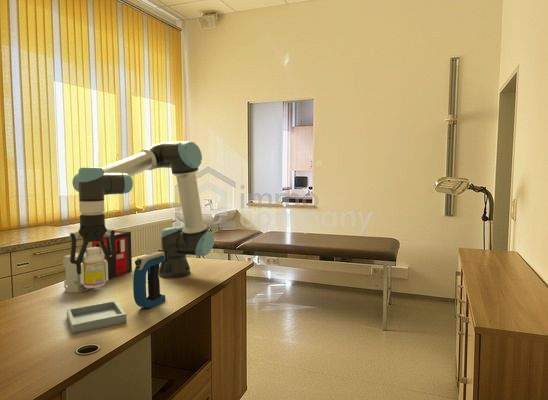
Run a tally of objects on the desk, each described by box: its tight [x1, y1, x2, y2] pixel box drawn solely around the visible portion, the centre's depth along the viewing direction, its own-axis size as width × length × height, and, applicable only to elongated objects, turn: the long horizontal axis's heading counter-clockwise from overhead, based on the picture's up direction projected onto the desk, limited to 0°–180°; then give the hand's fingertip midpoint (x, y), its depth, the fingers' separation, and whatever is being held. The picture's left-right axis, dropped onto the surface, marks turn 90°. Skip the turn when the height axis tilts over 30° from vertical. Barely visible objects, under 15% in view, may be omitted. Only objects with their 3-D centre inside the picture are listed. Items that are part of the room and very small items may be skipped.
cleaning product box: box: [91, 230, 133, 281], centre depth 183 cm, size 16×9×20 cm, turn 164°
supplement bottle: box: [83, 246, 106, 289], centre depth 126 cm, size 7×7×13 cm
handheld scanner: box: [132, 249, 168, 309], centre depth 141 cm, size 5×16×20 cm, turn 161°
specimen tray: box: [66, 299, 128, 335], centre depth 128 cm, size 16×16×3 cm
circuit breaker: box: [62, 252, 92, 294], centre depth 159 cm, size 8×14×15 cm, turn 78°
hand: (94, 281), depth 127 cm, fingers closed on supplement bottle, 7 cm apart
